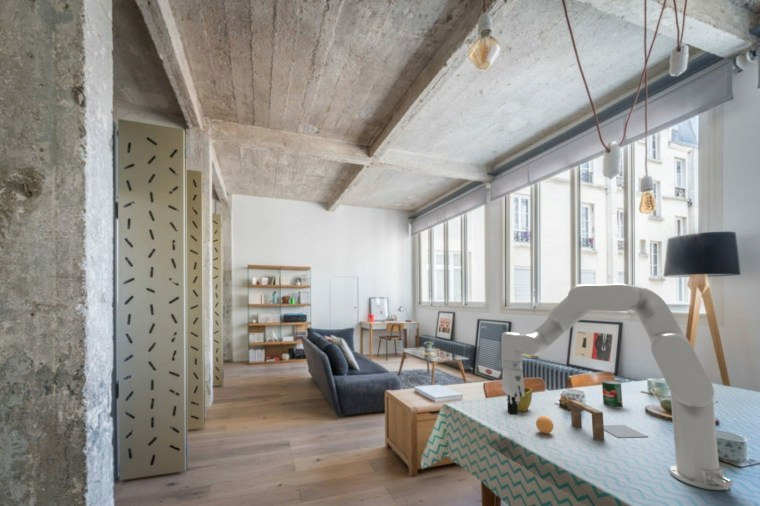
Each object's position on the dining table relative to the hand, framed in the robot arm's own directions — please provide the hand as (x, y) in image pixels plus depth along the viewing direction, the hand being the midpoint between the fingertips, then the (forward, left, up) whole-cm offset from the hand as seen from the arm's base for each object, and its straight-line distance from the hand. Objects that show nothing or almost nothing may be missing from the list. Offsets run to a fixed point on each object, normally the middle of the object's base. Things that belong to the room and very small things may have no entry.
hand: (512, 413), depth 137 cm
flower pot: (+28, -16, -8) cm, 33 cm away
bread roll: (+30, -42, -8) cm, 52 cm away
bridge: (0, -29, -7) cm, 30 cm away
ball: (0, -12, -4) cm, 13 cm away
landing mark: (0, -43, -7) cm, 44 cm away
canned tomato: (+32, -64, -7) cm, 72 cm away
